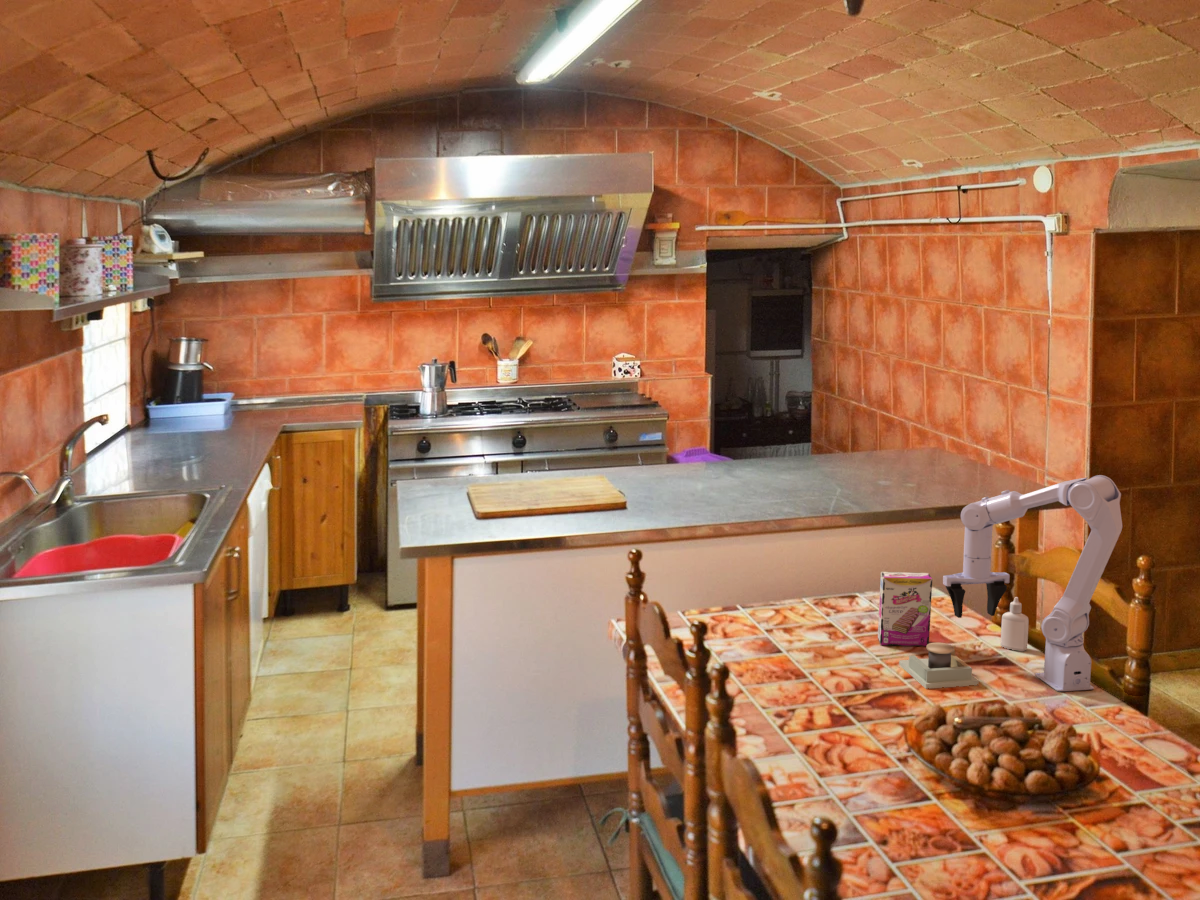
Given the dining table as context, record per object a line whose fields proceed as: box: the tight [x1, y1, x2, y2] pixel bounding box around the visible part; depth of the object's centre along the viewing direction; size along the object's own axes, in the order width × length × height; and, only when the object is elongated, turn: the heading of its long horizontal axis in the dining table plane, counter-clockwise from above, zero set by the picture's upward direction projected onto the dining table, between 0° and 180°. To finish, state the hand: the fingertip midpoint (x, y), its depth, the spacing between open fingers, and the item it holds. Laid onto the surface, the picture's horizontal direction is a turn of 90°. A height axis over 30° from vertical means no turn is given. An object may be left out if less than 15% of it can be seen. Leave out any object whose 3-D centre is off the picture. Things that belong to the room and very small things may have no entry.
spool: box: [925, 642, 955, 669], centre depth 239 cm, size 6×6×6 cm
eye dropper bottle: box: [999, 596, 1029, 652], centre depth 255 cm, size 4×6×12 cm
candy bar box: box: [877, 571, 933, 647], centre depth 259 cm, size 11×5×16 cm, turn 84°
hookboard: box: [898, 649, 980, 690], centre depth 240 cm, size 14×12×4 cm
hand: (974, 615), depth 248 cm, fingers open, 7 cm apart
